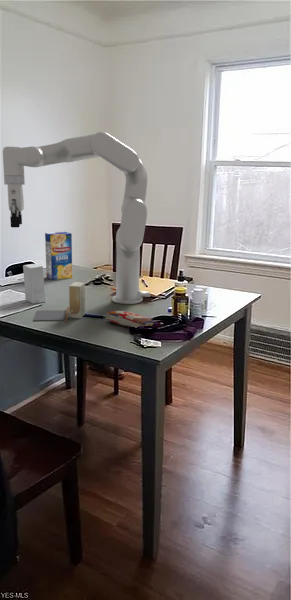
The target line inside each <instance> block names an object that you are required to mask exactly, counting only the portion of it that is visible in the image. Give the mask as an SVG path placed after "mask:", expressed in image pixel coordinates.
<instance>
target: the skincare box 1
mask: <svg viewBox="0 0 291 600" xmlns="http://www.w3.org/2000/svg"><path fill="white" fill-rule="evenodd" d="M22 269H23V272H22V273H23V280H24V281H23V282H24V284H23V285H24V294H25V295H24V296H25V300H26V301H27V302H29V303H31V304H33V305H34V304H40V303H42V304H43V303H46V292H45V290H46V287H45V277H44V266H43V265H40V264H37V263H30V264H24V265H22Z"/></svg>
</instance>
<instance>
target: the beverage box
mask: <svg viewBox="0 0 291 600" xmlns="http://www.w3.org/2000/svg"><path fill="white" fill-rule="evenodd" d="M44 238H45V242H44V243H45V271H46V272H45V276H46V278H47V279H49V280H50V281H56V280H57V281H58V280H64V279H65V280H66V278H67V279H73V244H72V243H73V240H72V239H73V235H72V233H71V232H67V231H57V232H45V233H44Z"/></svg>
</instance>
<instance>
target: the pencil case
mask: <svg viewBox="0 0 291 600" xmlns="http://www.w3.org/2000/svg"><path fill="white" fill-rule="evenodd" d="M106 320H107V321H110V322H111V323H114V324H116V325H119V326H123V327H127V328H130V327H135V328H137V327H139V326H149V325H150V326H152V325H154V324H156V325H157V320H154V319H151V318H149V317H146V316H145V315H141V314H140V315H139V314H137V313H134V312H129V311H121V310H112V311H107V312H106Z"/></svg>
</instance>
